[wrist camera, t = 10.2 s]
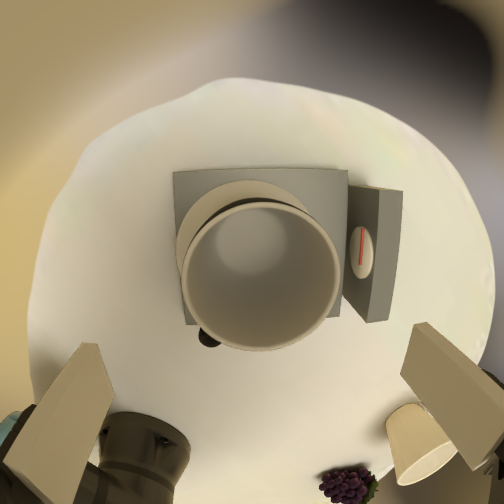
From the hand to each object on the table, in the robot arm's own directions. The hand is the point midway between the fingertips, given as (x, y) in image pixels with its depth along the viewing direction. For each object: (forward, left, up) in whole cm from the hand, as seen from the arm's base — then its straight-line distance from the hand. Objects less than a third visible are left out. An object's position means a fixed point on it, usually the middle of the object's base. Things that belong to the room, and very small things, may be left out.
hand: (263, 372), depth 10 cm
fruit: (+20, -49, -20) cm, 56 cm away
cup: (+27, -32, -20) cm, 46 cm away
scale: (+3, 0, -19) cm, 20 cm away
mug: (0, 0, -16) cm, 16 cm away
